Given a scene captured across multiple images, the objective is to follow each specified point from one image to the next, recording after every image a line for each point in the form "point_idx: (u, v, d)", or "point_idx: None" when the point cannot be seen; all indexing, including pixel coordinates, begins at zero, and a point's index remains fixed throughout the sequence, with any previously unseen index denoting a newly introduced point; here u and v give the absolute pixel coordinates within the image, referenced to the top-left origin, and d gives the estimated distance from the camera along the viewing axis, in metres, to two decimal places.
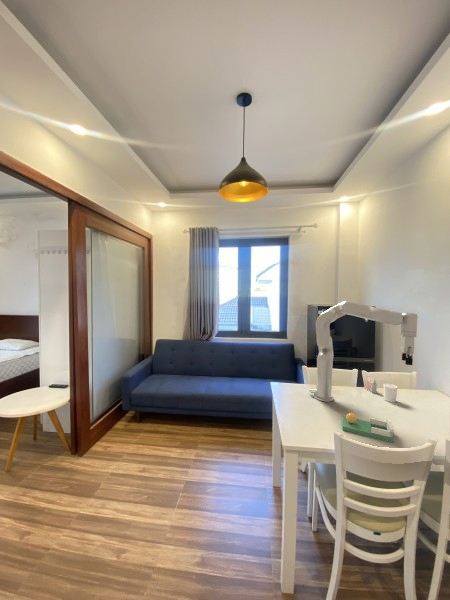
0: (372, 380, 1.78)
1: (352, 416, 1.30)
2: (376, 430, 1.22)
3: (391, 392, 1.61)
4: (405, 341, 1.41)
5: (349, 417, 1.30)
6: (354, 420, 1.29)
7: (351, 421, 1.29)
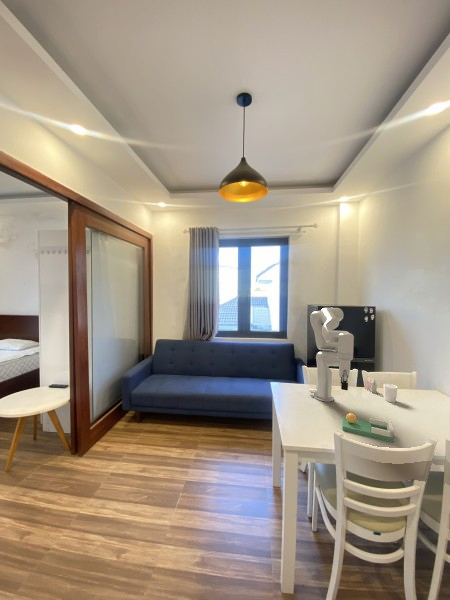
0: (372, 380, 1.78)
1: (352, 416, 1.30)
2: (376, 430, 1.22)
3: (391, 392, 1.61)
4: (341, 364, 1.31)
5: (349, 417, 1.30)
6: (354, 420, 1.29)
7: (351, 421, 1.29)
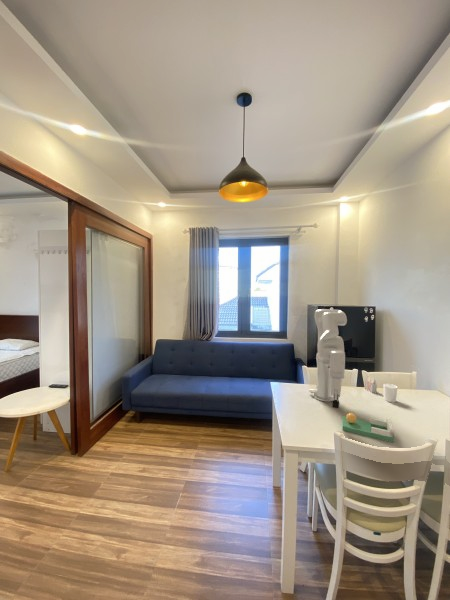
0: (372, 380, 1.78)
1: (352, 416, 1.30)
2: (376, 430, 1.22)
3: (391, 392, 1.61)
4: (332, 383, 1.31)
5: (349, 417, 1.30)
6: (354, 420, 1.29)
7: (351, 421, 1.29)
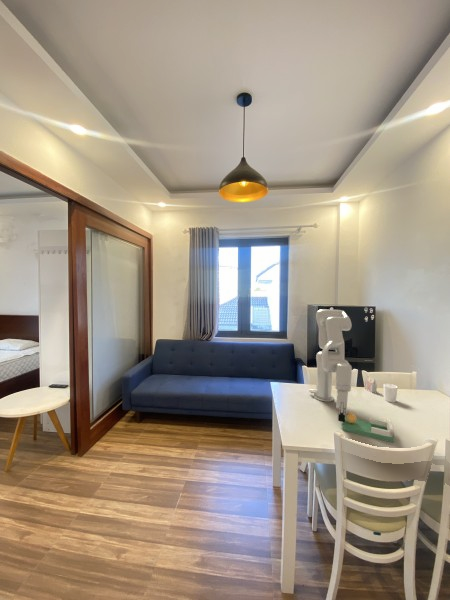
0: (372, 380, 1.78)
1: (352, 416, 1.30)
2: (376, 430, 1.22)
3: (391, 392, 1.61)
4: (338, 395, 1.30)
5: (349, 417, 1.30)
6: (354, 420, 1.29)
7: (351, 421, 1.29)
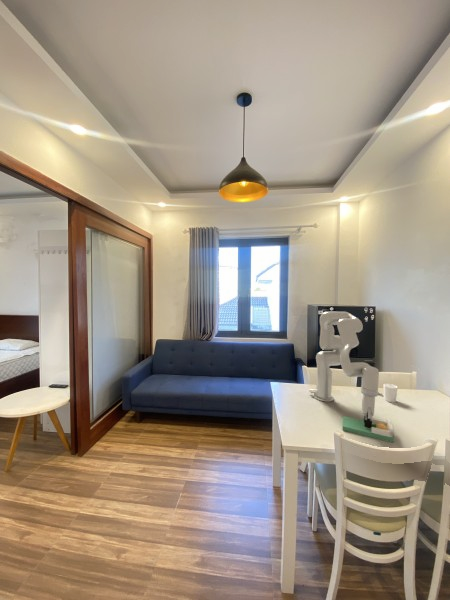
0: None
1: (381, 427, 1.24)
2: (376, 430, 1.22)
3: (391, 392, 1.61)
4: (365, 401, 1.24)
5: None
6: None
7: None
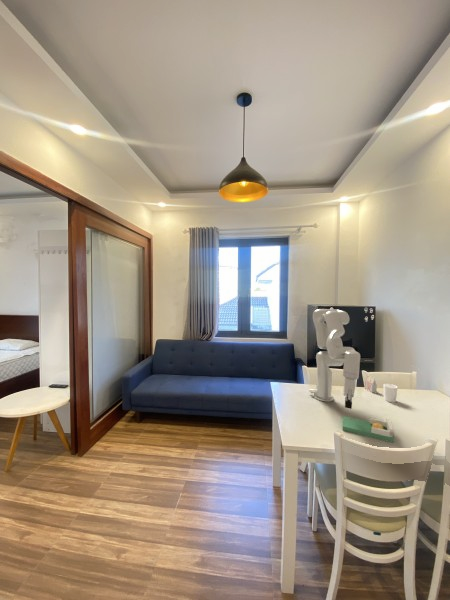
0: (372, 380, 1.78)
1: None
2: (376, 430, 1.22)
3: (391, 392, 1.61)
4: (345, 383, 1.30)
5: None
6: (379, 428, 1.24)
7: None
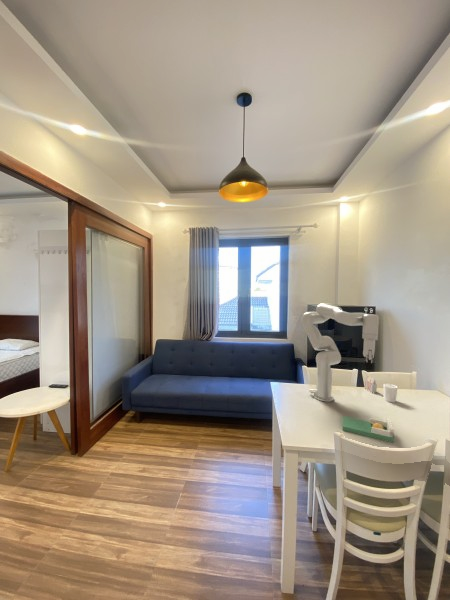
0: (372, 380, 1.78)
1: (375, 427, 1.25)
2: (376, 430, 1.22)
3: (391, 392, 1.61)
4: (365, 344, 1.35)
5: None
6: (379, 428, 1.24)
7: None
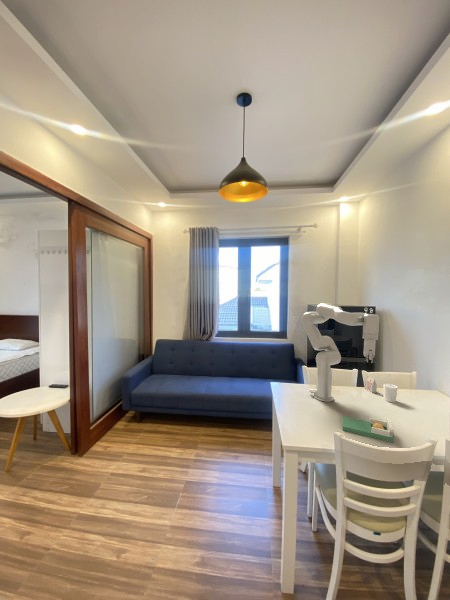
0: (372, 380, 1.78)
1: (375, 427, 1.25)
2: (376, 430, 1.22)
3: (391, 392, 1.61)
4: (366, 344, 1.35)
5: None
6: (380, 428, 1.23)
7: None
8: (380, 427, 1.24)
